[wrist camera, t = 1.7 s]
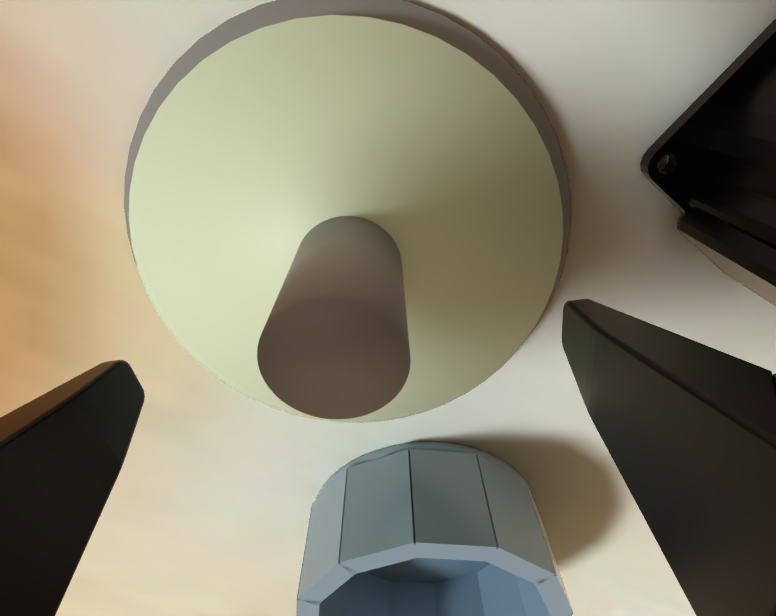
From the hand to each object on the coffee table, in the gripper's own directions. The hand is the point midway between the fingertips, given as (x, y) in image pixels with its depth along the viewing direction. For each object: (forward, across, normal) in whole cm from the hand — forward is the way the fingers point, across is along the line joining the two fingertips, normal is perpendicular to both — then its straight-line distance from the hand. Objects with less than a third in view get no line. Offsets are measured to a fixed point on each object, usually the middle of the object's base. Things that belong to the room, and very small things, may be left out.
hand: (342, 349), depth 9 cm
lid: (+5, 0, 0) cm, 5 cm away
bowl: (+5, -1, +14) cm, 15 cm away
